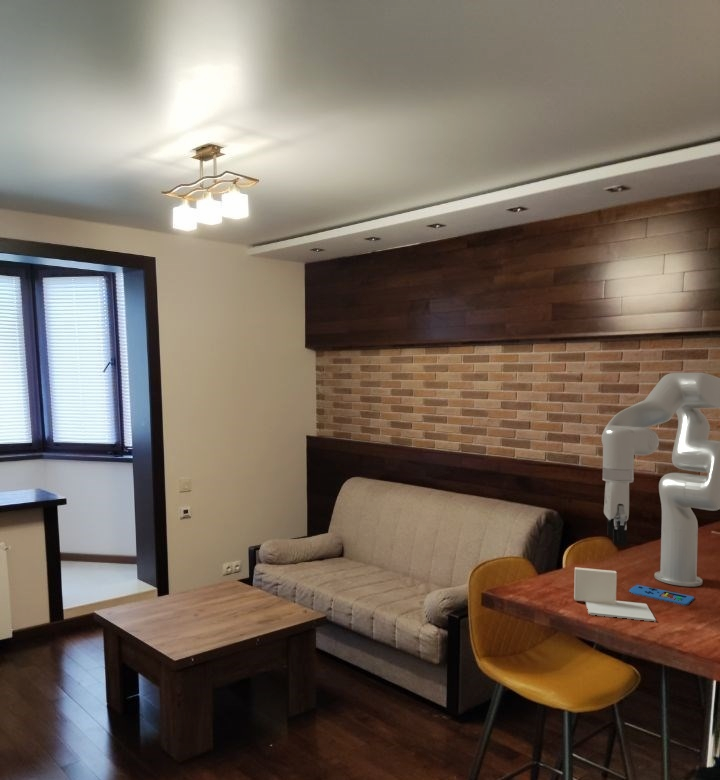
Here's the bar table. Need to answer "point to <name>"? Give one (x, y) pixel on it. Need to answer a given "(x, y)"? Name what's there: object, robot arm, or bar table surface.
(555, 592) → the bar table surface
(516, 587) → the bar table surface
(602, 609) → the rubber mat
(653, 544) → the bar table surface
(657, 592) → the handheld gaming device
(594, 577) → the ceramic tile
